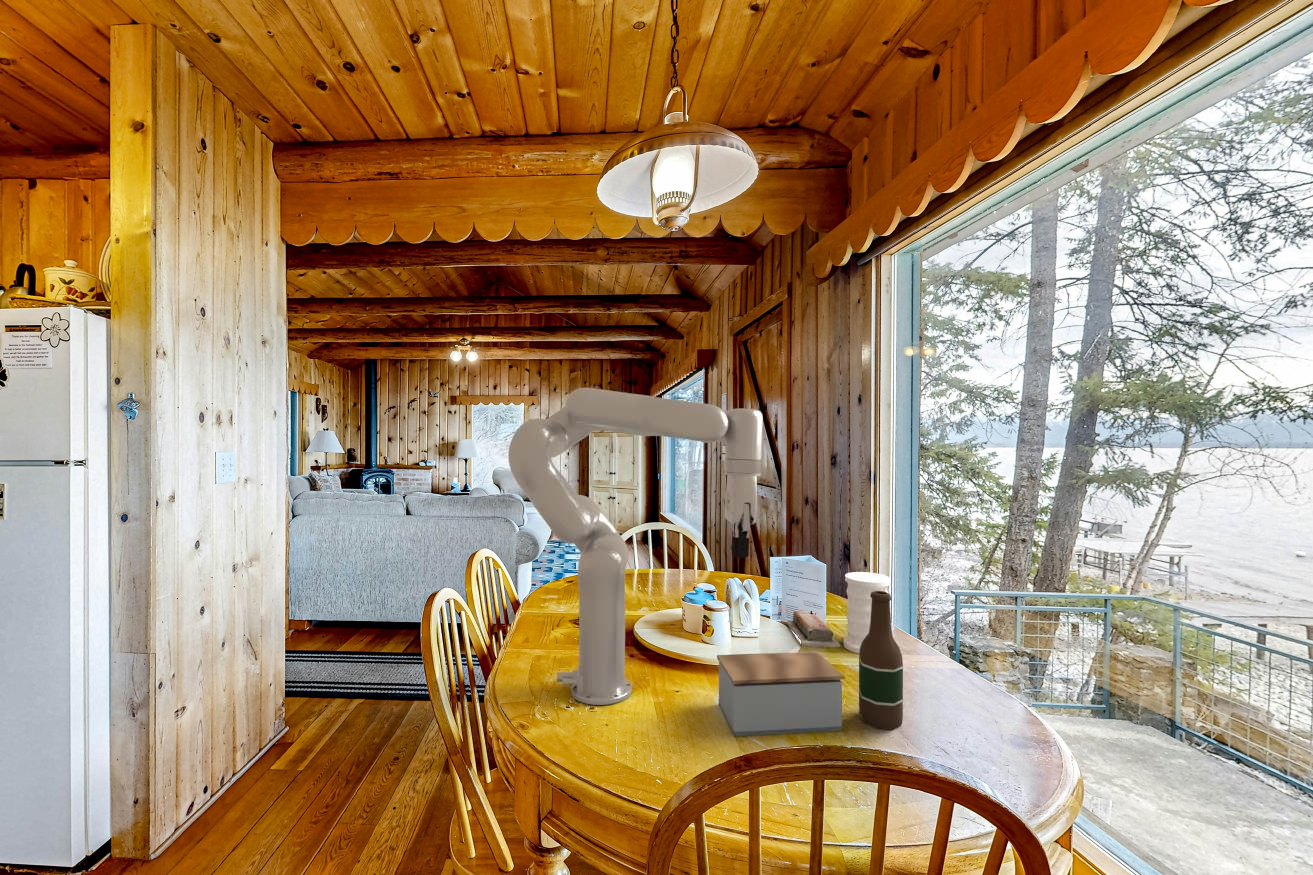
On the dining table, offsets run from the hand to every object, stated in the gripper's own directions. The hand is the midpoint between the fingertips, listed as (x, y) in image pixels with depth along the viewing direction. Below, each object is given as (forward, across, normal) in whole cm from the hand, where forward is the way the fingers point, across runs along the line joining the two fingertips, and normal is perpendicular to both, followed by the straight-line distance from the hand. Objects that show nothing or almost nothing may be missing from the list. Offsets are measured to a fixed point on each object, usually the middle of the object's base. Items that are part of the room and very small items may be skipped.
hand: (739, 556), depth 115 cm
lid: (+19, +10, +6) cm, 22 cm away
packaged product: (+28, -34, +28) cm, 53 cm away
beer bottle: (+28, +12, +25) cm, 39 cm away
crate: (+28, +10, +6) cm, 31 cm away
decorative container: (+28, -25, +39) cm, 54 cm away
